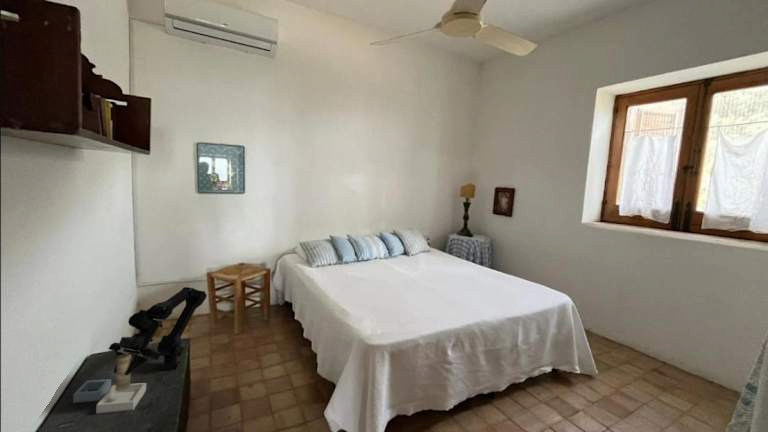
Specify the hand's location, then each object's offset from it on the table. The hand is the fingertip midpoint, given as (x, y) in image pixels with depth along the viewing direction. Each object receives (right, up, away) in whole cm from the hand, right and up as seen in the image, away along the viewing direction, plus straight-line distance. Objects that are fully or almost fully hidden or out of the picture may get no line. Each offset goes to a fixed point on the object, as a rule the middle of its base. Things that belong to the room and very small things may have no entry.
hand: (120, 374), depth 122 cm
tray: (-1, -12, +3) cm, 13 cm away
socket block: (-15, -11, +4) cm, 19 cm away
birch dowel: (-1, -6, +2) cm, 7 cm away
